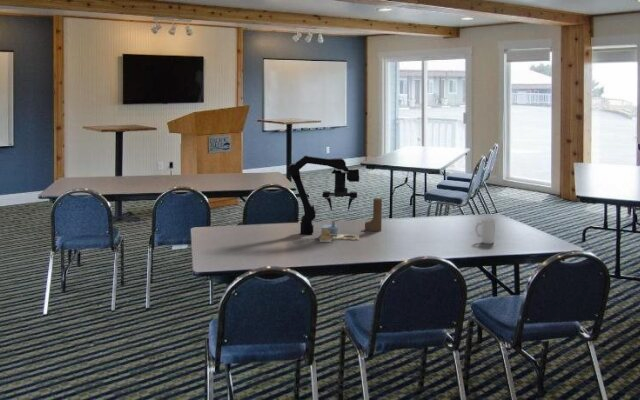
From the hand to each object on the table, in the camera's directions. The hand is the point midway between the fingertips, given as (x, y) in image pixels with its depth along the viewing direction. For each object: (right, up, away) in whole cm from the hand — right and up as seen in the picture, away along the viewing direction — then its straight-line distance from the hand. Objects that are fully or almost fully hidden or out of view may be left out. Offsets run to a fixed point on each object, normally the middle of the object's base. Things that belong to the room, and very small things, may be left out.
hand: (339, 210), depth 394 cm
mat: (-8, -16, -17) cm, 24 cm away
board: (0, -15, -9) cm, 17 cm away
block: (-8, -15, -17) cm, 24 cm away
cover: (-6, -13, -9) cm, 17 cm away
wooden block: (+19, -12, +12) cm, 25 cm away
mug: (+74, -17, -18) cm, 78 cm away
